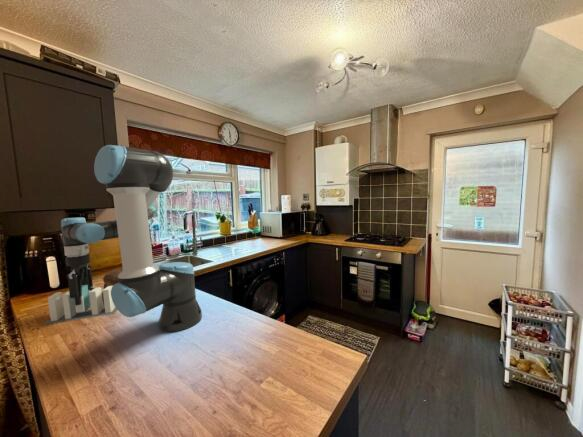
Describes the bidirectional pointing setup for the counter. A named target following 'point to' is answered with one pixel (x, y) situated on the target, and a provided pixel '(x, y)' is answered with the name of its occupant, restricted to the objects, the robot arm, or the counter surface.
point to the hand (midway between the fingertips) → (84, 308)
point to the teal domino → (85, 297)
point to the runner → (81, 316)
